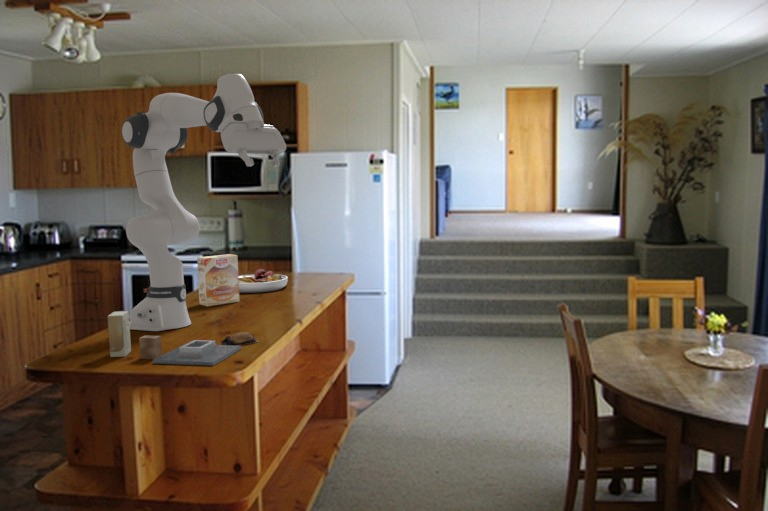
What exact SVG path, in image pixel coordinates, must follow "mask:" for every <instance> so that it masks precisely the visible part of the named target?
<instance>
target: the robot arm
mask: <svg viewBox="0 0 768 511" xmlns="http://www.w3.org/2000/svg"><path fill="white" fill-rule="evenodd" d="M264 121H265V120H264V113H263V111H262V108H261V107H260V106H259V104H258V103H257V102H256V101H255V96H254V94H253V91H252V88H251V86H250V84H249V83H248V81H247V78H245V77H244V75H243V74H241V73H235V72H230V73H225V74H222V75H221V76H219V78H218V79H217V86H216V91H215V93H214V96H213V97H212V99H211V100H209V101H208V100H205V99H202V98H198V97H195V96H191V95H188V94H184V93H180V92H166V93H164V92H163V93H161V94H158V95H155V96H154V97H153V98H152V99H151V101H150V102H149V108H148V111H147V112H142V111H138V112H137V113H136V114H134V115H131V116H129V117H127V118H126V119H125V120H124V121H123V123H122V126H121V138H122V139H123V140H122V141H123V142H124V143H125V145H126V146H128V147H129V148H134V149H133V150H132V166H133V174H134V178H135V182H136V187H137V192H138V198H139V199H140V200H141V202H142V203H144V204H145V205H148V206H150V207H151V208H152V209H153V210H154V211H155V212H156V213H147V214H142V215H137V216H135V217H131V218H130V219H129V220H128V222H127V224H126V227H125V233H126V238H127V240H128V241H129V242H130V243H131V244H132V246H134V247H135V248H138V249H139V251H141V253H142V255H143V256H144V258H145V260H146V262H147V265H148V272H149V281H150V285H149V286H148V287H147V288H143V293H146V294H145V295H146V296H145V297H144V299H143V300H141V301H140V302H139V303H137V305H135V306H134V307H133V308H132V309H131V311H130V315H129V327H130V330H136V331H148V332H160V331H166V330H174V329H175V330H176V329H180V328H185V327H188V326H190V325H192V321H191V319H190V316H189V315H190V314H189V312H188V306H187V303H186V302H187V301H186V300H187V289H186V284H185V279H184V278H185V277H184V264H183V261H182V260H180V258H178V257H176V256H174V255H172V254H171V252H170V251H169V247H168V246H170V245H181V244H183V245H184V244H185V243H188V242H189V243H190V242H193V241H194V240H196V239H197V237H198V236H199V234H200V230H201V229H200V227H201V226H200V222H199V220H198V218H197V217H196V215H194V214H193V213H191V212H190V211H188V210H187V209H186V208H185V207H184V206H183V205H182V204H181V203H180V202H179V200H178V198H177V197H176V194H175V193H174V190H173V186H172V182H171V178H170V174H169V171H168V166H167V162H166V154H167V153H169V154H170V155H171V154H175V153H176V151H177V150H179V149H181V148H182V147H183V146H184V145H185V144H186V142H187V141H188V138H189V130H188V129H189V128H195V127H204V126H207V128H208V129H209V131H212V132H216V133H220V139H221V143H222V145H223V148H224V150H225V151H226V152H227V153H228V154H238V156H239V158H240V159H242V161H244V163H245V165H246V167H252V166H254V165H255V162H254V159H253V158H251V157H250V156H249V155H270V157H271V158H272V161H271V162H270V164H271V166H272V167H273V168H279V167H280V165H281V164H280V161H279V157H280V155H282V154H283V153H284V152H285V151H286V150H287V144H286V142H285V139H284V138H283V136H282V135H281V132H280V131H279V130H278V129H277V128H276V127H275V126H274V125H270V124H265V122H264Z"/></svg>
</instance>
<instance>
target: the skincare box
mask: <svg viewBox="0 0 768 511" xmlns="http://www.w3.org/2000/svg"><path fill="white" fill-rule="evenodd" d="M129 322H130V314H129V310H124V311H123V310H119V311H113V312H111V313H110V314H108V315H107V327H108V328H107V329H108V340H109V355H110V358H119V357H120V358H121V357H123V358H124V357H125V358H126V356H128V355H129V354H130V353H131V352H132V344H131V343H132V342H131V329H130V327H129Z"/></svg>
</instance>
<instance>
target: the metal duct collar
mask: <svg viewBox="0 0 768 511" xmlns="http://www.w3.org/2000/svg"><path fill="white" fill-rule="evenodd" d="M240 350H242V345H240V346H233V345H223V344H217V340H209V339H208V340H205V339H204V340H203V339H202V340H201V339H194V340H191V341H189V342H187V343H184V344H183V345H180V346H178V347H176V348H175V349H172V350H170V351H168V352H165V353H164V354H162V356H160V357H158V358H156V359H152V364H153V365H154V364H156V365H157V364H158V365H180V366H181V365H183V366H205V367H206V366H207V367H208V366H209V367H210V366H211V367H212V366H216V365H217V364H219V363H221V362H222V361H224V360H227V358H229V357H230V356H232V355H233V354H235V353H237V352H239V351H240Z"/></svg>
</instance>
